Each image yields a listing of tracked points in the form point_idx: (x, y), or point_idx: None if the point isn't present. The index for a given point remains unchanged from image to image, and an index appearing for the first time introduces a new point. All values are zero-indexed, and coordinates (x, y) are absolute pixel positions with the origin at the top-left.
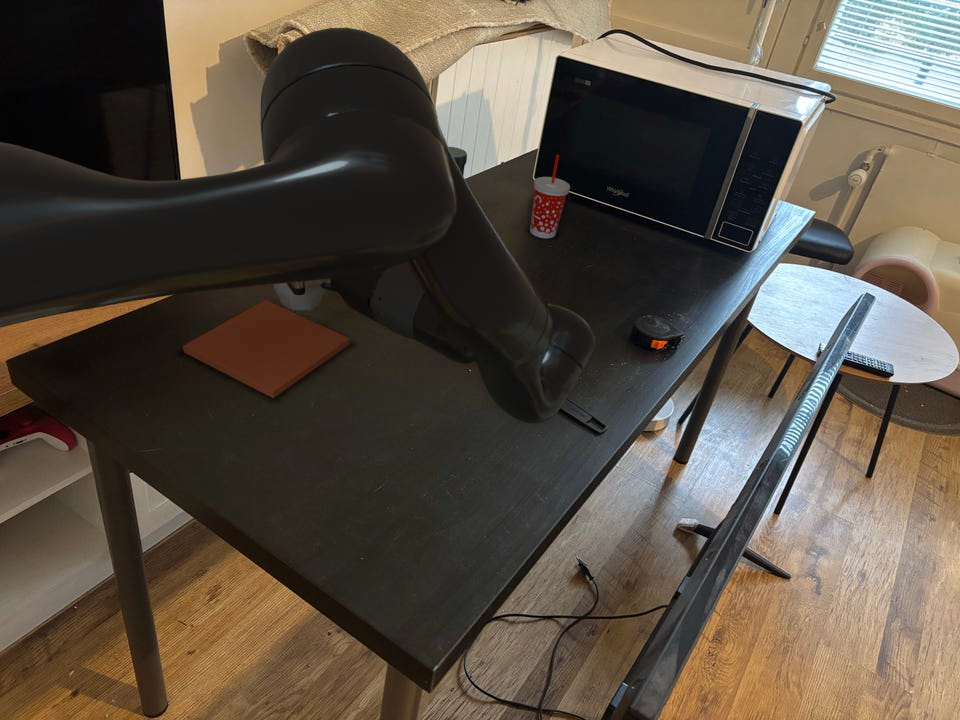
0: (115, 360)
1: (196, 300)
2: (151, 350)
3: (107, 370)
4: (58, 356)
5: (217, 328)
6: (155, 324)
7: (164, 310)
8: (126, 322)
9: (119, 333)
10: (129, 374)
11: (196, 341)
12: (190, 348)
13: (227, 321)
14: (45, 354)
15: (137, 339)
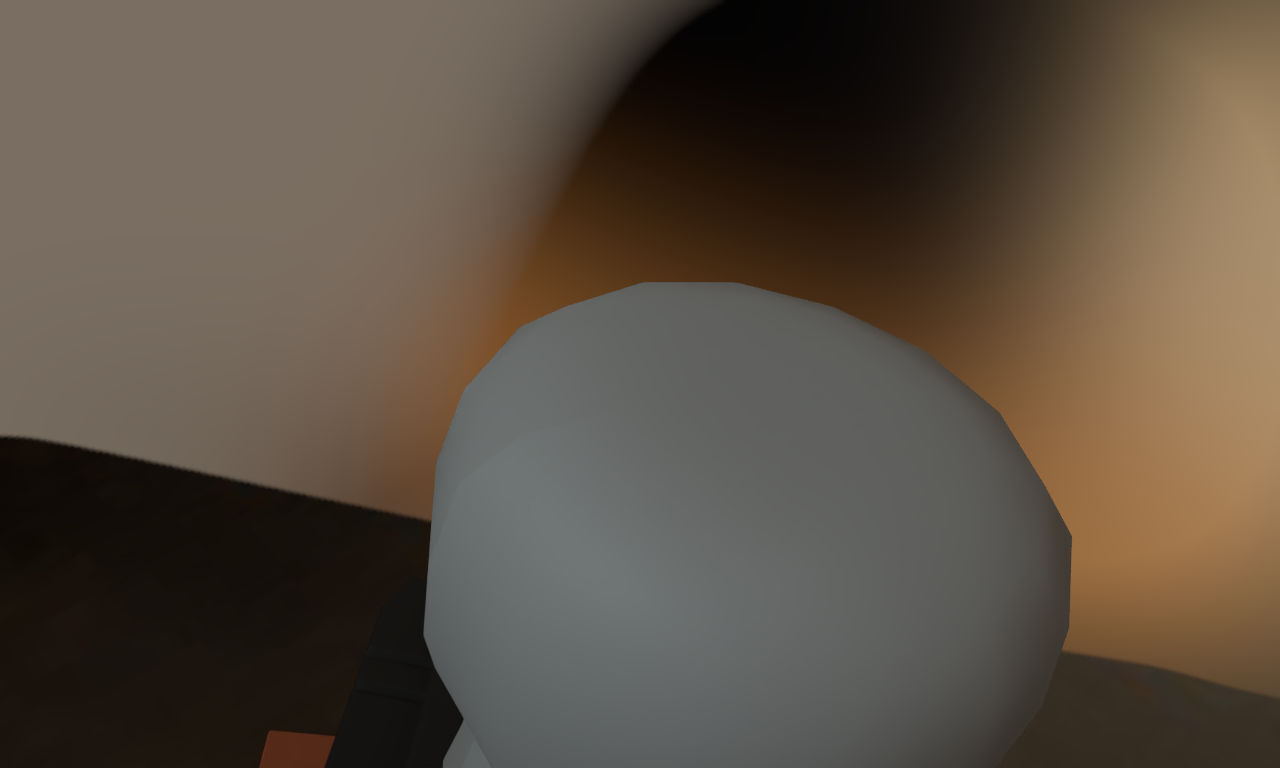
0: (99, 601)
1: None
2: (221, 654)
3: (22, 617)
4: (46, 470)
5: None
6: (382, 571)
7: None
8: (337, 503)
9: (265, 522)
10: (25, 688)
11: (327, 751)
12: (265, 765)
13: None
14: (42, 441)
15: (263, 580)
